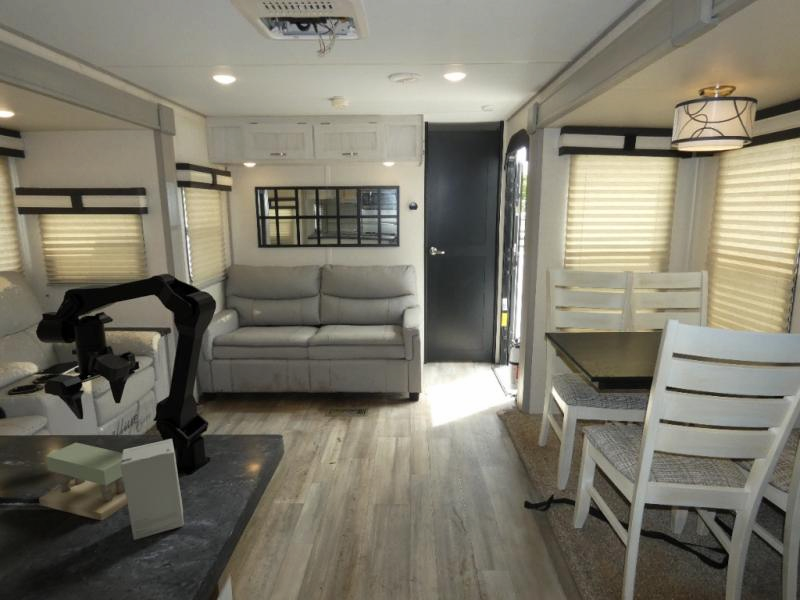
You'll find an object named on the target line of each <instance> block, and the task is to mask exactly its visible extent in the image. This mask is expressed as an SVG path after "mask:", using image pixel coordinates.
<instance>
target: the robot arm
mask: <svg viewBox="0 0 800 600" xmlns="http://www.w3.org/2000/svg"><path fill="white" fill-rule="evenodd" d="M149 296H154V297H156V298H158V300H159V301H160V302H161V304H162V305H163V307H164V308H165V309H166V310H169V311H170V312H172V313H173V323H174V325H175V328H176V330H177V332H178V334H177V335H178V337H177V343H176V349H175V355H174V362H173V368H172V372H171V373H172V374H171V381H170V385H169V387H170V388H169V394H168V396H166V397H164V399H161V400H160V401H159V402H157V403H156V406H155V416H154V418H153V420H152V421H153V422H155V428H156V430H157V431H158V432H159V434H160V437H161V439H162V441H164V440H168V439H172V441H173V446H174V452H175V458H176V466H177V472H181V473H186V474H193V473H194V472H196V471H197V470H199V469H200V468H202V467H203V466H205V464H207V463H209V462H210V461H212V457H210V456H206V448H205V439H204V437H203V436H202V435H203V434H204V433H206V432H207V431H208V427H209V422H208V421H207V419H205V418H204V417H203V416H202V415H201V414H200V413H198V403H197V401H196V398H195V396H194V391H195V384H196V379H197V373H198V366H199V360H200V355H201V349H202V348H201V347H202V343H203V338H204V334H205V332H206V330H207V329H208V328H209V326H210V324H211V322H212V320H213V318H214V315H215V312H216V308H217V300H216V299H215V298H214V297H213V295H212V294H211V293H210V292H207V291H202V290H201V289H200V288H197V287H196V286H194V285H191V284H189V283H186V282H184V281H182V280H180V279H178V278H176V277H175V276H174V275H171V274H169V273H160V274H156V275H153V276H151V277H148V278H144V279H140V280H139V279H138V280H134V281H129V282H125V283H120V284H114V285H108V284H91V285H85V286H81V287H75V288H70V289H68V290H66V291H65V292H64V296H63V301H62V302H61V304H60V305H59V307H58V309H57V311H56V312H55V311H49V312H44V313H42V315H41V316H42V318H41V320H40V321H39V322H38V325H37V327H36V330H35V334H36V337H37V339H38V340H39V341H40V342H41V343H44V344H72V343H74V344H75V345H74V346H75V348H74V349H71V355H74V356H75V355H76V361H77V367H74V368H73V369H74V373H76V374H77V375H67V374H61V375H57V376H54V377H52V378H49V379H46V381H45V382H44V385H43V387H44V393H45V394H47V395H52V396H55V397H56V396H57V397H59V398H60V399H61V400H62V401H63V402H64V403H65V404H66V405H67V407H68V408H69V410H70V411H71V412H72V413H73V415H74V416H75V417H76V419H78V420H81V421H82V420H83V419H84V409H83V401H82V396H83V395H84V393H85V390H83V389H82V387H83V384H84V383H86V382H90V381H91V380H94V379H98V378H100V377H103V378H104V379H105V380H106V381H108V382H109V383H108V384H109V386H110V391H111V395H112V398H113V401H114V403H115V404H120V403H121V400H122V396H123V394H124V390H125V386H126V385H127V384H126V383H127V381H128V380H129V378H130V377H132V375H134V374H135V373H136V371H137V370H139V369H140V362H139V361H140V360H138V359H137V358H136V357H135V353H133V352H132V351H126V352H124V353H122V354H117V355H116V354H114V350H113V348H112V346H111V345H107V338H106V336H107V335H106V329H105V325H107V324H109V323H112V322H114V319H113V317H111V316H109V315H107V314H106V313H105V312H104V311H101V312H98V311H100V310H104V309H106V308H108V307H110V306H112V305H114V304H117V303H119V302H124V301H129V300H135V299H139V298H143V297H144V298H145V297H149ZM94 312H98V313H95V314H94V315H90V314H92V313H94ZM79 317H81V318H79ZM81 389H82V390H81Z"/></svg>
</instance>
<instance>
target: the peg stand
mask: <svg viewBox="0 0 800 600" xmlns="http://www.w3.org/2000/svg"><path fill="white" fill-rule="evenodd" d="M57 474H58V481H59V482H58V483H59V486H58V487H57V488H55V489H52V490H50V491H49V492H48V493H45V494H44V495H41V496H40V497H38V500H39V502H38V503H39V505H40V506H42V507H45V508H50V509H55V510H58V511H61V512H67V513H71V514H74V515H78V516H83V517H86V518H90V519H95V520H98V521H103V520H105V519H107V518H108V517H109V516H111V515H113V514H114V513H116V512H117V511H119V510H121V508H123V507H125V506H126V505H128V504H127V498H126V493H125V487H124V481H123V476H122V477H120V478H118V479H117V480H115V481H113V482H111V483H110V484H108V485H106V486H105V485H101V484H97V483H94V482H90V481H86V480H83V479H79V478H75V477H74V478H73V479H71V480H70V476H68V475H64V474H60V473H57Z"/></svg>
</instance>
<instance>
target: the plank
mask: <svg viewBox="0 0 800 600" xmlns="http://www.w3.org/2000/svg"><path fill="white" fill-rule="evenodd" d="M122 455H123V452H119V451H116V450H110V449H106V448H101V447H97V446H93V445H88V444H84V443H81V442H80V443H79V442H73V443H71V444H69V445H67V446H65V447H63V448H61V449H58V450H56V451H54V452H51V453H50V454H47V455H46V456H45V461H46V467H47V470H48V471H49V472H53V473H56V474H58V473H60V474H64V475H68V476H69V477H71V478H74V479H75V478H79V479H83V480H86V481H90V482H94V483H97V484H101V485H105V486H106V485H108V484H110V483H111V482H113V481H115V480H117V479H118V478H120V477H122V470H121V461H122Z"/></svg>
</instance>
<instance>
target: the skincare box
mask: <svg viewBox="0 0 800 600" xmlns="http://www.w3.org/2000/svg"><path fill="white" fill-rule="evenodd" d="M122 453H123V455H122V461H121V470H122V476H123V481H124V487H125V493H126V498H127V504H126V505H127V509H128V515H129V521H130V526H131V532H132V537H133V540H134V541H137V540H139V539H142V538H146V537H150V536H153V535H156V534H160V533H163V532H166V531H171V530H174V529H177V528H180V527H183V526H184V524H185V523H184V508H183V500H182V495H181V494H182V493H181V487H180V482H179V481H180V480H179V474H178V471H177V466H176V458H175V452H174V446H173V441H172V439H168V440H164V441H163V440H161V441H157V442H152V443H146V444H143V445H137V446H134V447H128V448H125V449H123V450H122Z"/></svg>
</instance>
